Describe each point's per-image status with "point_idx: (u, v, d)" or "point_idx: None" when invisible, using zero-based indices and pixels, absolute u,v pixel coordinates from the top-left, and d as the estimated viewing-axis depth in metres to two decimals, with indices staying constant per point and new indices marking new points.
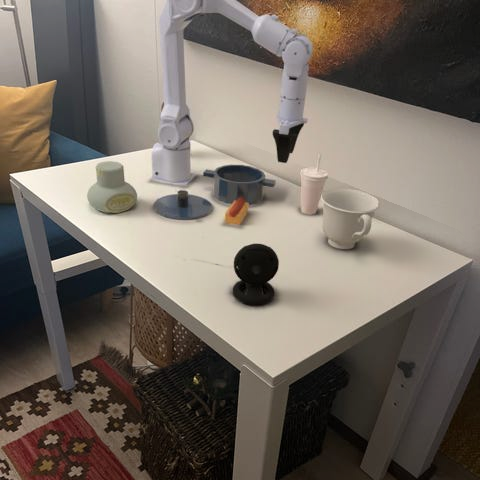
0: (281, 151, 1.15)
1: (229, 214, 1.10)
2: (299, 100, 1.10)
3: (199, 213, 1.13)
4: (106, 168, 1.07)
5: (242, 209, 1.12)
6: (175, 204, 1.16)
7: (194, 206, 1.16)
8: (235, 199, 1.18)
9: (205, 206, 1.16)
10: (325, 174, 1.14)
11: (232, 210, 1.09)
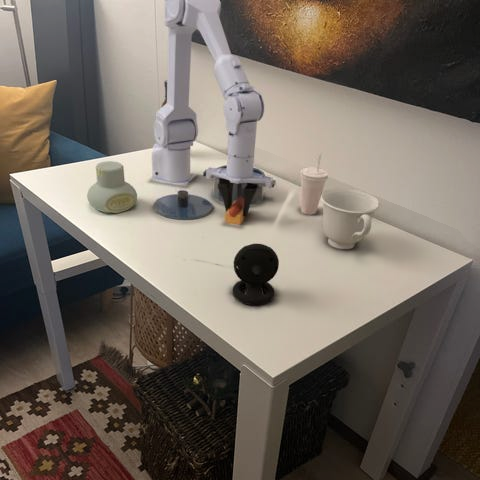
0: None
1: (229, 214, 1.10)
2: (228, 155, 1.04)
3: (199, 213, 1.13)
4: (106, 168, 1.07)
5: (242, 209, 1.12)
6: (175, 204, 1.16)
7: (194, 206, 1.16)
8: (235, 199, 1.18)
9: (205, 206, 1.16)
10: (325, 174, 1.14)
11: (232, 210, 1.09)
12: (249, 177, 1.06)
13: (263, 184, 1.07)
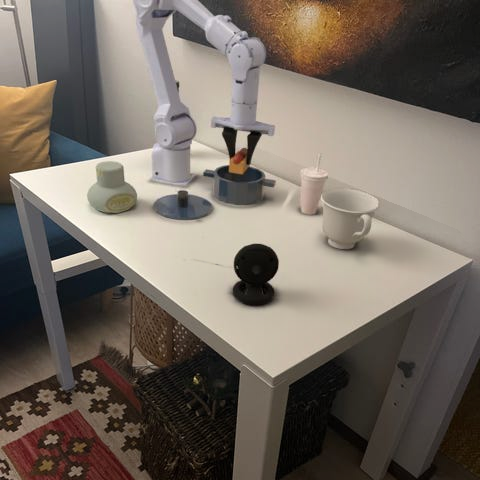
0: None
1: (233, 161, 1.14)
2: (232, 102, 1.09)
3: (199, 213, 1.13)
4: (106, 168, 1.07)
5: (245, 157, 1.17)
6: (175, 204, 1.16)
7: (194, 206, 1.16)
8: (235, 199, 1.18)
9: (205, 206, 1.16)
10: (325, 174, 1.14)
11: (236, 157, 1.14)
12: (252, 124, 1.11)
13: (265, 132, 1.12)
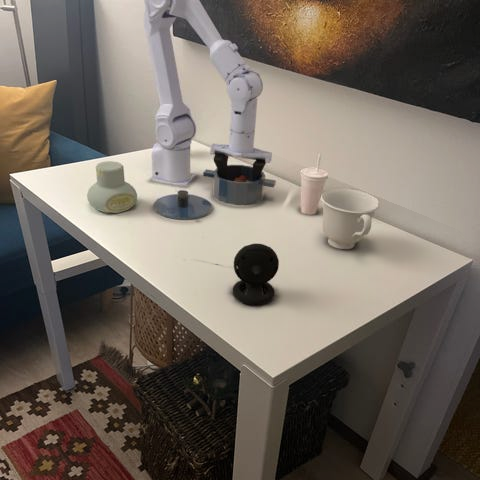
0: None
1: None
2: (231, 131, 1.14)
3: (199, 213, 1.13)
4: (106, 168, 1.07)
5: None
6: (175, 204, 1.16)
7: (194, 206, 1.16)
8: (235, 199, 1.18)
9: (205, 206, 1.16)
10: (325, 174, 1.14)
11: None
12: (250, 152, 1.16)
13: (263, 158, 1.17)
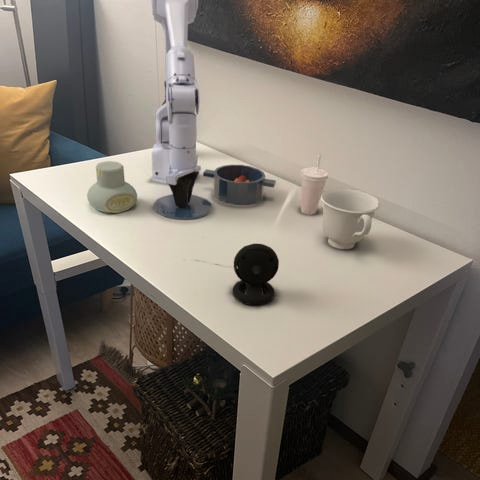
0: (178, 196, 1.12)
1: None
2: (187, 149, 1.05)
3: (199, 213, 1.13)
4: (106, 168, 1.07)
5: None
6: (175, 204, 1.16)
7: (194, 206, 1.16)
8: (235, 199, 1.18)
9: (205, 206, 1.16)
10: (325, 174, 1.14)
11: None
12: None
13: None
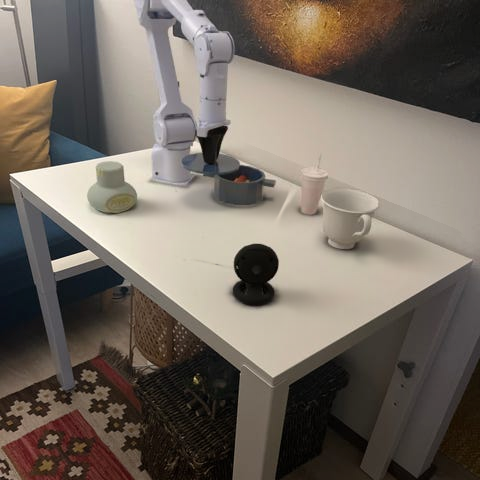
0: (206, 151, 1.11)
1: None
2: (218, 101, 1.04)
3: (228, 169, 1.11)
4: (106, 168, 1.07)
5: None
6: (203, 161, 1.14)
7: (222, 163, 1.14)
8: (235, 199, 1.18)
9: (233, 163, 1.14)
10: (325, 174, 1.14)
11: None
12: None
13: None
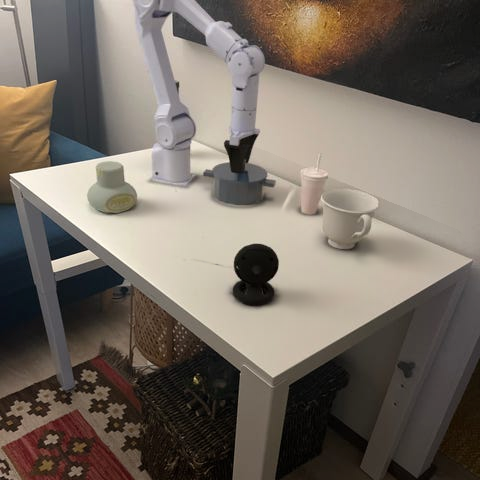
0: (234, 162, 1.15)
1: None
2: (250, 111, 1.10)
3: (257, 178, 1.18)
4: (106, 168, 1.07)
5: None
6: None
7: (251, 172, 1.20)
8: (235, 199, 1.18)
9: (261, 172, 1.21)
10: (325, 174, 1.14)
11: None
12: None
13: None
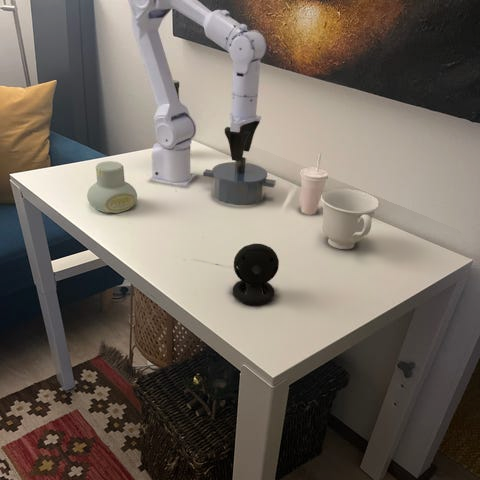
0: (234, 149, 1.13)
1: None
2: (251, 97, 1.08)
3: (257, 178, 1.18)
4: (106, 168, 1.07)
5: None
6: (233, 170, 1.21)
7: (251, 172, 1.20)
8: (235, 199, 1.18)
9: (261, 172, 1.21)
10: (325, 174, 1.14)
11: None
12: None
13: None
